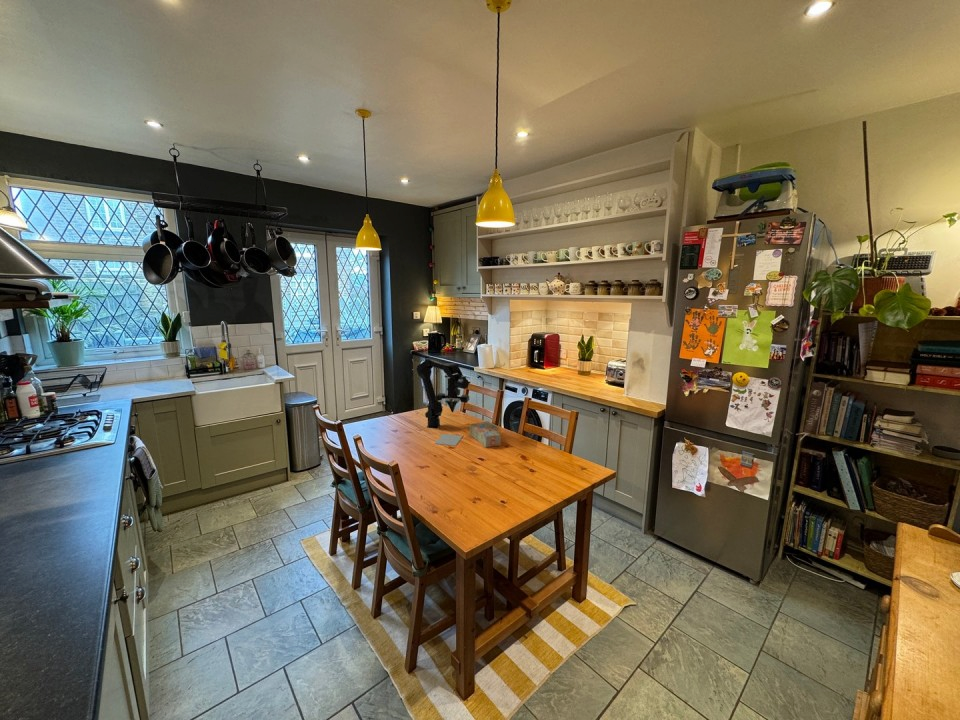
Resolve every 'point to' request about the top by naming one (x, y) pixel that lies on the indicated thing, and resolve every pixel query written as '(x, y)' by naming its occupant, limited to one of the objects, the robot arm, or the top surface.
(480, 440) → the stack of blocks
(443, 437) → the grey rubber mat
